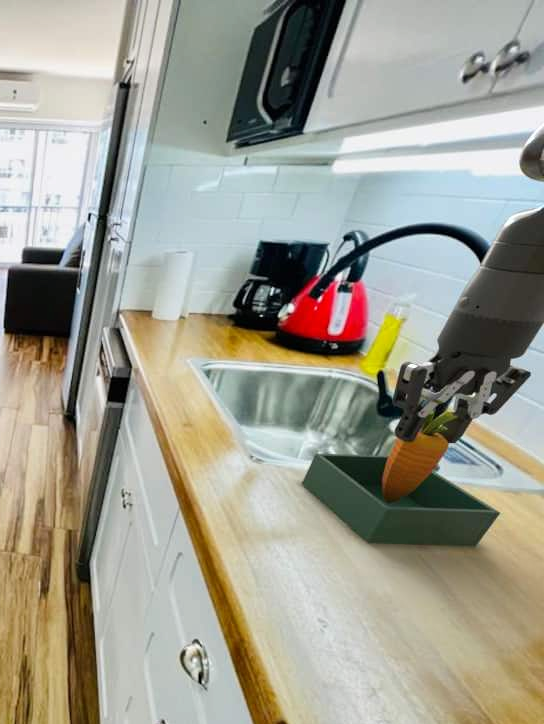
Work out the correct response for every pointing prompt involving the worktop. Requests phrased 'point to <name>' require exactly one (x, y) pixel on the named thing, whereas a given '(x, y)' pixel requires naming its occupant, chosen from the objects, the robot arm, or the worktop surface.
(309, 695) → the worktop surface
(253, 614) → the worktop surface
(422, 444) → the carrot
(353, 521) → the dark green tray
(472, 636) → the worktop surface
